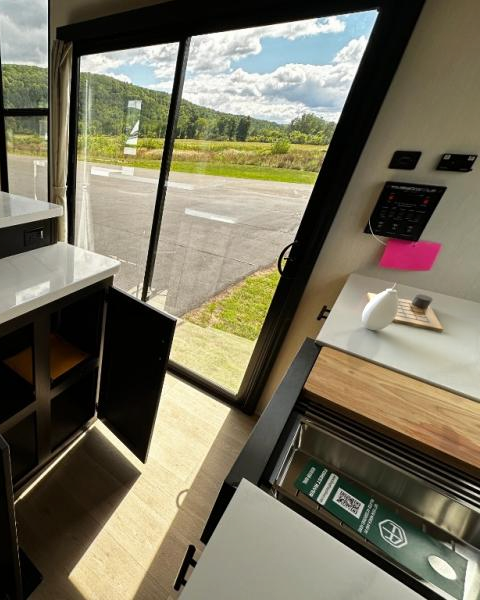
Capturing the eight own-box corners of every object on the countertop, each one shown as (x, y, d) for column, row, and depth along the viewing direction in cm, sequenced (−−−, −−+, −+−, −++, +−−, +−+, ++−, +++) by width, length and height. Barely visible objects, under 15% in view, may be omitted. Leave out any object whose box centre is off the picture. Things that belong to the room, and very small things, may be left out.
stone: (425, 303, 118) (431, 296, 117) (429, 309, 115) (434, 301, 113) (410, 300, 120) (415, 293, 119) (413, 306, 117) (418, 298, 115)
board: (426, 306, 119) (428, 303, 118) (441, 332, 106) (443, 329, 106) (366, 295, 127) (368, 292, 127) (373, 317, 114) (375, 314, 114)
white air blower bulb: (357, 331, 108) (382, 285, 98) (354, 319, 114) (378, 275, 104) (387, 338, 105) (416, 291, 95) (382, 325, 110) (409, 280, 101)
